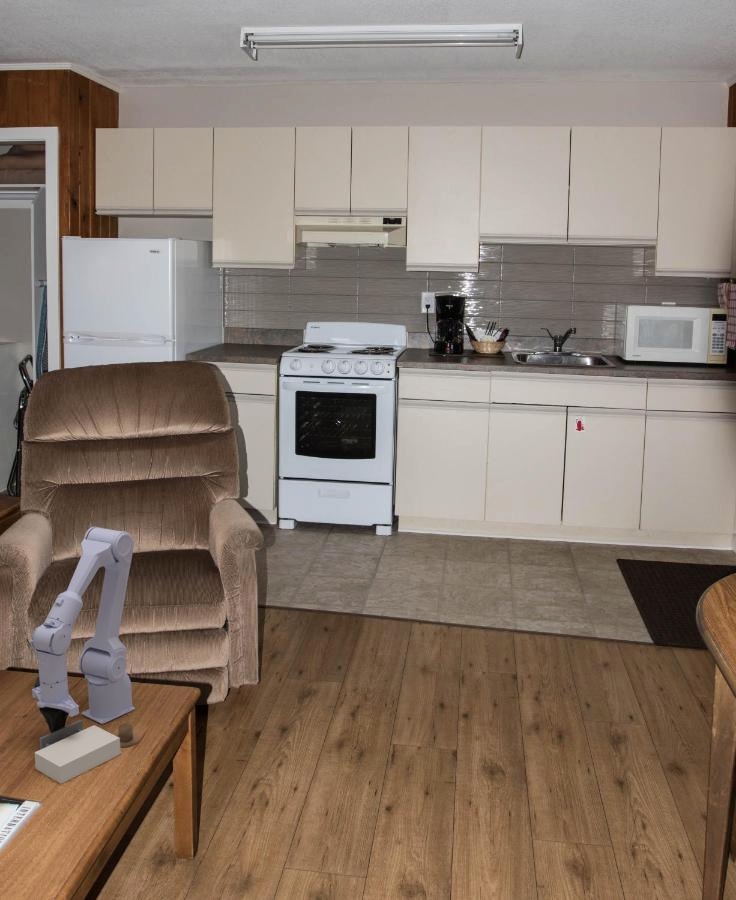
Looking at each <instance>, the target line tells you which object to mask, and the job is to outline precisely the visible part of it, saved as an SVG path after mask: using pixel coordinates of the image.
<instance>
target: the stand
mask: <svg viewBox="0 0 736 900" xmlns="http://www.w3.org/2000/svg"><path fill="white" fill-rule="evenodd" d="M117 729H118V734H117V735H116V736H117V737H119V738H120V749H121V748H123V749H125V748H131V747H134V746H135V745H137V744H138V743H139V742H140V736H139V735H138V734H137V733H135V732H133V731H134V729H133V724H132V723H128V722H126V723H122V724H119V725H118V728H117Z"/></svg>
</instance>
